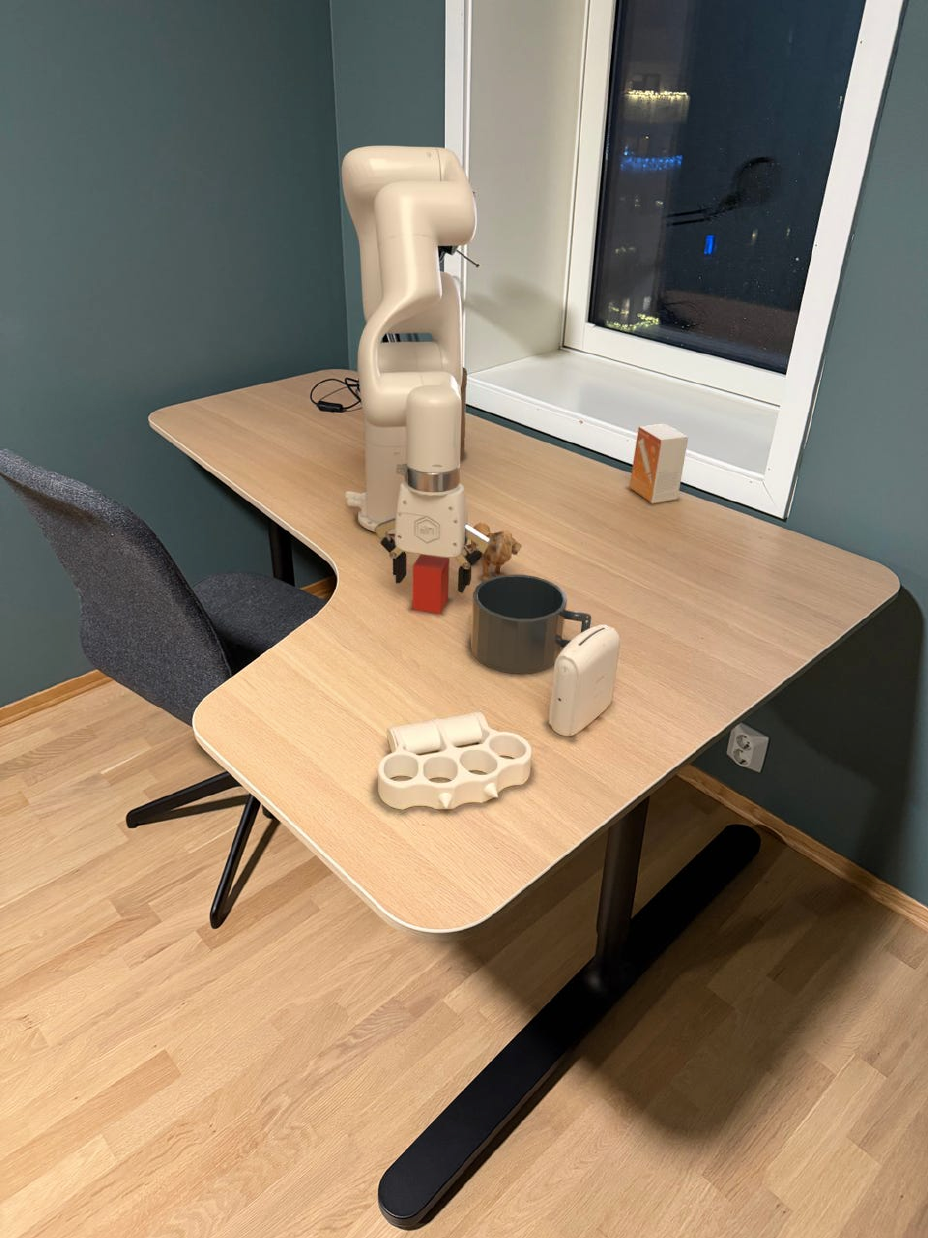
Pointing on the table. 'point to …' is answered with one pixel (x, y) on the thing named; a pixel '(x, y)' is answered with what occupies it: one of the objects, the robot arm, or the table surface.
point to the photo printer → (584, 679)
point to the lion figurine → (496, 549)
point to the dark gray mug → (520, 623)
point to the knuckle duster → (451, 762)
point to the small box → (658, 462)
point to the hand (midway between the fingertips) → (431, 583)
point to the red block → (430, 583)
